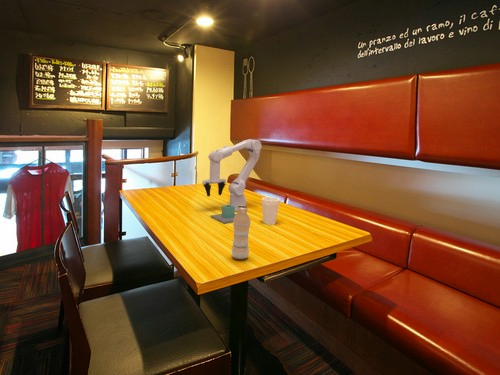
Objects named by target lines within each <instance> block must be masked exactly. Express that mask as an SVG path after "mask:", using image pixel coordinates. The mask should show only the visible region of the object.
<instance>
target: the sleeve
mask: <svg viewBox="0 0 500 375" xmlns="http://www.w3.org/2000/svg"><path fill="white" fill-rule="evenodd" d="M221 214H222V217H224V218H226V219H228V218H234V217H235V214H236V211H235V207H234V206H232V205H230V204H225V205H221Z"/></svg>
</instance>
